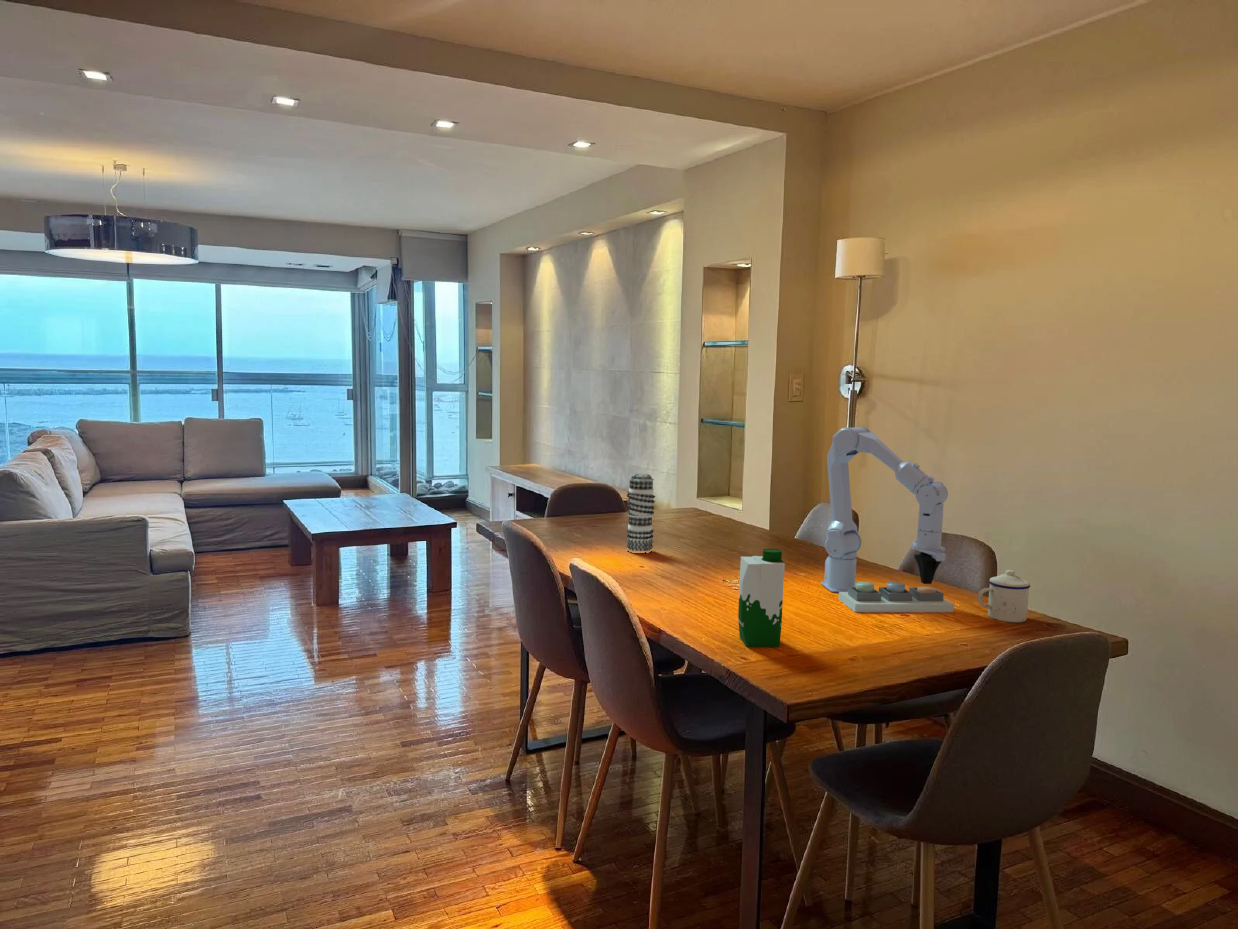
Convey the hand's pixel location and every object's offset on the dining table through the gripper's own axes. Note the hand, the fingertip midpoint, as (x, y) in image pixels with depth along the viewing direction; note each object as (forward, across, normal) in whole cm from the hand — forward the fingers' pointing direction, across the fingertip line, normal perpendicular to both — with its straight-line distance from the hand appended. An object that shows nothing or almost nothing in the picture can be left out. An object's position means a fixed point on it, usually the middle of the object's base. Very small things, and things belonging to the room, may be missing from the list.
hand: (926, 583), depth 216 cm
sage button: (+2, 0, +16) cm, 16 cm away
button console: (+6, 0, +8) cm, 10 cm away
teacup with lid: (+6, -11, -14) cm, 19 cm away
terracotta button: (+4, 0, 0) cm, 4 cm away
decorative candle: (+6, +66, +66) cm, 93 cm away
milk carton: (+6, -29, +50) cm, 58 cm away
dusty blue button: (+2, 0, +8) cm, 8 cm away
